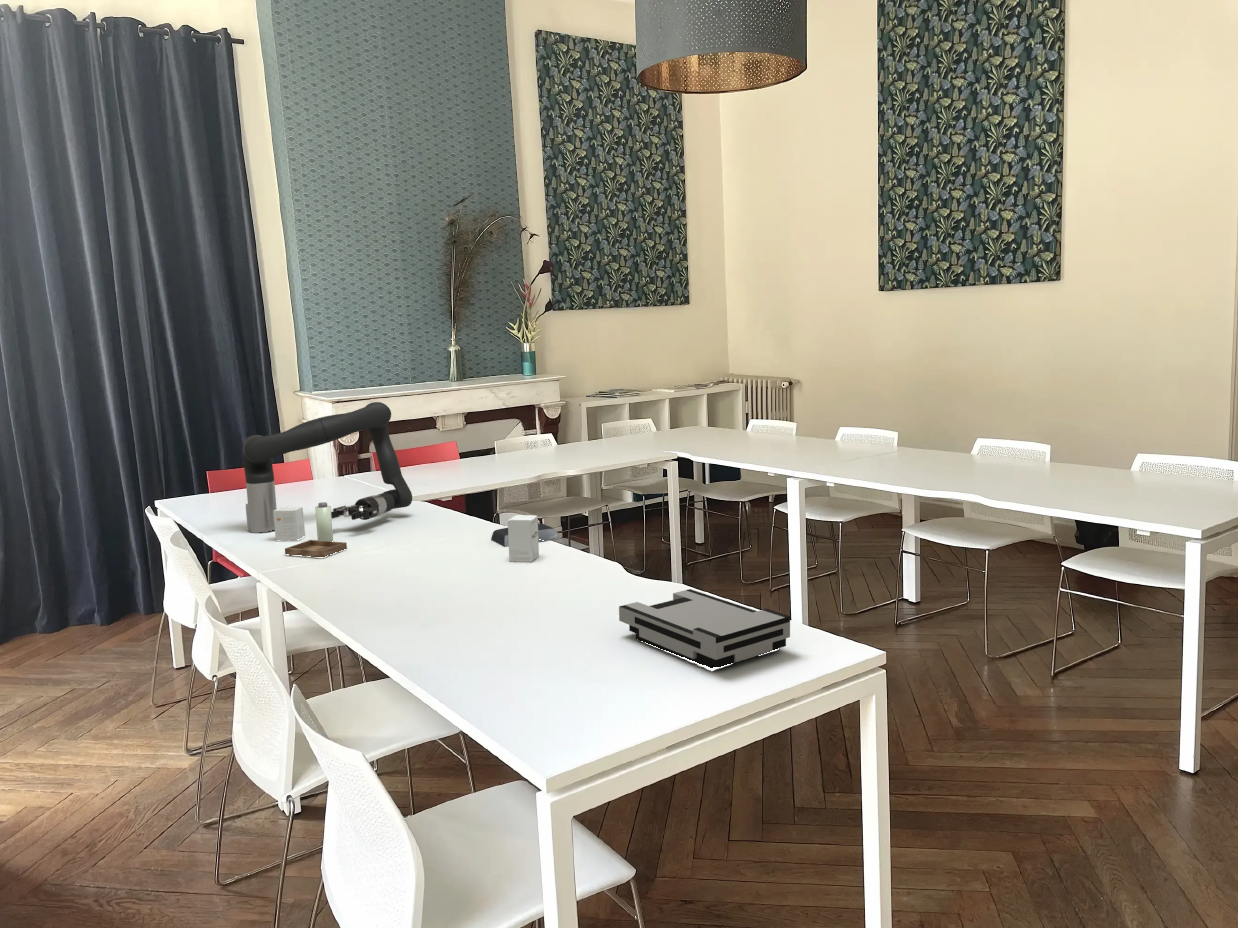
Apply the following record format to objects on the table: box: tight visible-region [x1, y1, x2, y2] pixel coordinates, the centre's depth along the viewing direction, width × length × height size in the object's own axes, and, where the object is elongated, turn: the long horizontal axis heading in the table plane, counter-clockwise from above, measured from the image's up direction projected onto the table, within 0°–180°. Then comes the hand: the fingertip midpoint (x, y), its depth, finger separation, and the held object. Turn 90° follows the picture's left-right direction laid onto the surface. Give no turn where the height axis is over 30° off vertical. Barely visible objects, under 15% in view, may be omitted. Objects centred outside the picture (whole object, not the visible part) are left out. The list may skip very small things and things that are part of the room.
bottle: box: [314, 502, 334, 542], centre depth 309 cm, size 5×5×13 cm
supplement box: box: [507, 514, 540, 563], centre depth 282 cm, size 7×7×13 cm
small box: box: [273, 506, 306, 541], centre depth 316 cm, size 8×6×10 cm
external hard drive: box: [490, 523, 560, 548], centre depth 308 cm, size 13×19×4 cm
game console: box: [618, 588, 791, 668], centre depth 205 cm, size 21×32×8 cm, turn 36°
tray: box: [284, 539, 348, 557], centre depth 297 cm, size 14×12×2 cm
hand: (341, 516), depth 318 cm, fingers open, 8 cm apart
